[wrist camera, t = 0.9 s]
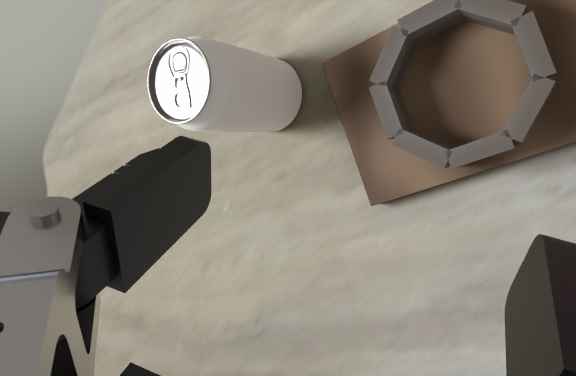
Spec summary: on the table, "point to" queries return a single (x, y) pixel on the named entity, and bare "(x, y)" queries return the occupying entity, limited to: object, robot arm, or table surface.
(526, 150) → the socket board
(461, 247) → the table surface
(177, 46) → the can
